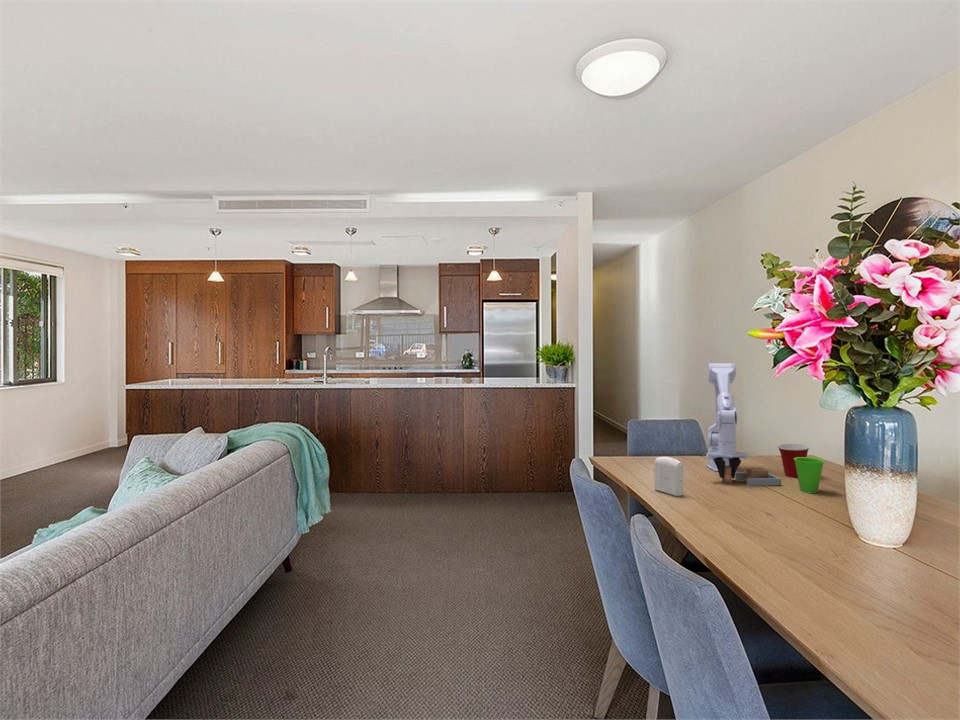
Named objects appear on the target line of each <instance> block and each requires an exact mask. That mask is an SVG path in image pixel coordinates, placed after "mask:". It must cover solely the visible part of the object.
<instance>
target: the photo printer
mask: <svg viewBox="0 0 960 720" xmlns="http://www.w3.org/2000/svg"><path fill="white" fill-rule="evenodd" d="M683 464H684V463H683V462H681V461H680V460H678V459H677V458H674V457H670V456H659V457H656V458H655V460H654V490H655V491H659V492H662V493H665V494H668V495H671V496H676V497H681V495H682V496H683V494H684V465H683Z"/></svg>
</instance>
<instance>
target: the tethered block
mask: <svg viewBox="0 0 960 720" xmlns="http://www.w3.org/2000/svg"><path fill="white" fill-rule="evenodd" d="M744 472H745V479H733V478H732V466H728V465H725V467H724V478H721V482H722V483H723V482H724V483H723V484H732V483H747V478H768V473H769V469H766V468H764V467H761V466H760V467H758V466H754V467H753V466H750V467H749V466H748V467H747V466H745V467H744Z"/></svg>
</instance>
